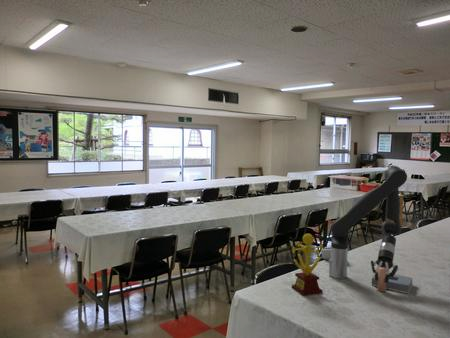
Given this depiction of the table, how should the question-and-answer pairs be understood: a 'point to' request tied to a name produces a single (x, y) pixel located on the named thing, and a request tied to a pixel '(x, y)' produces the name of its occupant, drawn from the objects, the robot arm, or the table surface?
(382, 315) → the table surface
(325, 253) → the hinge
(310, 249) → the trophy
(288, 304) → the table surface
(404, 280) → the socket block
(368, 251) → the table surface
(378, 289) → the peg
